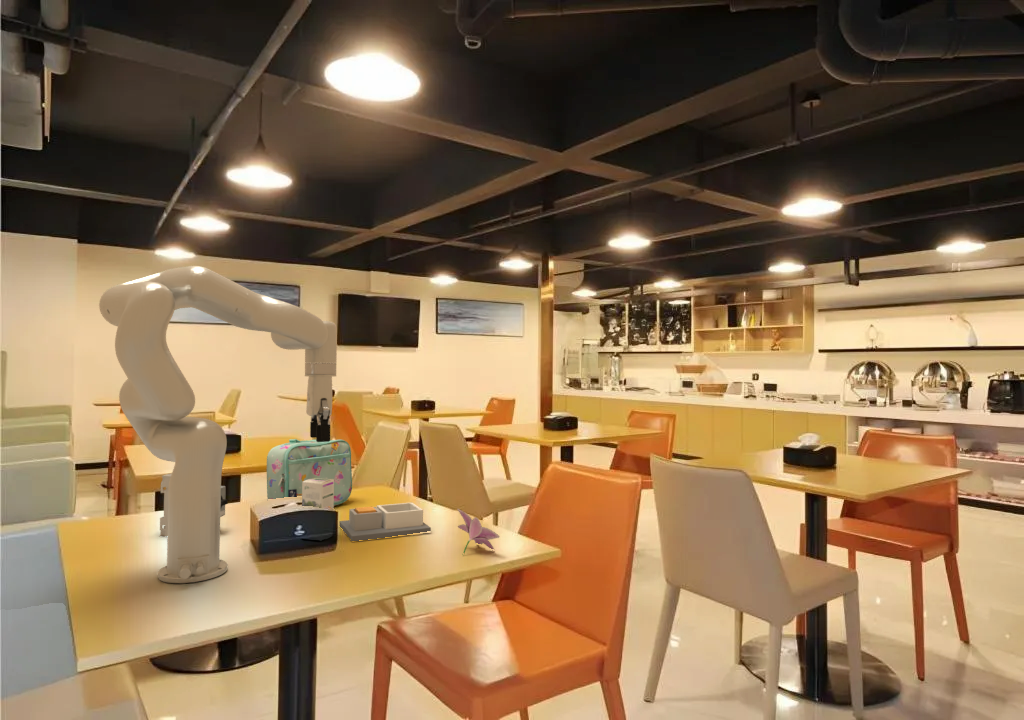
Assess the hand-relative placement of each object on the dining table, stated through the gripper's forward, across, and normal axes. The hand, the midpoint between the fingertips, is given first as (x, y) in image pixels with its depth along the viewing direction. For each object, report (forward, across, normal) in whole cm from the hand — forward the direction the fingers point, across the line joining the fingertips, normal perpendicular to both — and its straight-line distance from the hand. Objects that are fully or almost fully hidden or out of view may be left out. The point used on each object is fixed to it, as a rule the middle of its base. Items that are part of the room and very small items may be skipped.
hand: (319, 439), depth 153 cm
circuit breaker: (+24, -17, -27) cm, 40 cm away
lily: (+25, +27, +31) cm, 48 cm away
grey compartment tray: (+24, -1, +17) cm, 30 cm away
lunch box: (+25, -33, +3) cm, 41 cm away
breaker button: (+23, -1, +12) cm, 25 cm away
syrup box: (+25, 0, 0) cm, 25 cm away
